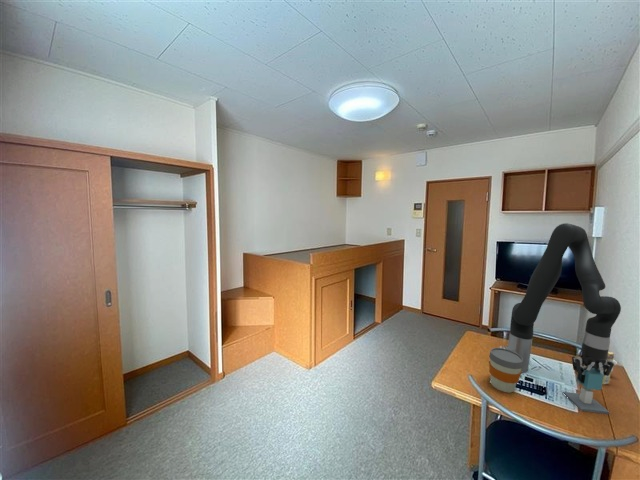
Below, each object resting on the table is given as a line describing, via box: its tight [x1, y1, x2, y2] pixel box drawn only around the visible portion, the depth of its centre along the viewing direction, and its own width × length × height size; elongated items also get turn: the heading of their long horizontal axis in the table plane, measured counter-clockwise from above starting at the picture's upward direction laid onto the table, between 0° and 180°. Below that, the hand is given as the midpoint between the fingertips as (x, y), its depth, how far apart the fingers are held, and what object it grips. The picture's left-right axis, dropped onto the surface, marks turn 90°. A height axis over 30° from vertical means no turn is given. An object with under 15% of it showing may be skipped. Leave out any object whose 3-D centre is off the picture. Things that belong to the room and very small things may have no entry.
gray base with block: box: [562, 386, 610, 415], centre depth 112 cm, size 10×10×6 cm
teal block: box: [576, 368, 604, 391], centre depth 111 cm, size 5×5×7 cm
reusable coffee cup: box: [488, 347, 523, 393], centre depth 121 cm, size 13×13×15 cm
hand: (588, 382), depth 111 cm, fingers closed on teal block, 5 cm apart
